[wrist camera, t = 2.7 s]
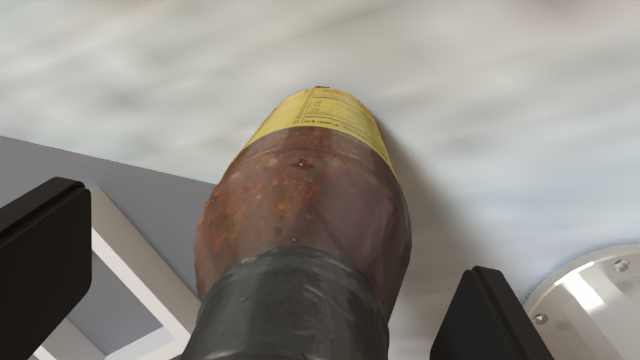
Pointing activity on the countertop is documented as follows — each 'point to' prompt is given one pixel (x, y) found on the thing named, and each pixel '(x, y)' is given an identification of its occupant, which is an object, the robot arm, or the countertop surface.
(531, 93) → the countertop surface
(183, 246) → the locating plate
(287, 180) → the sauce bottle
